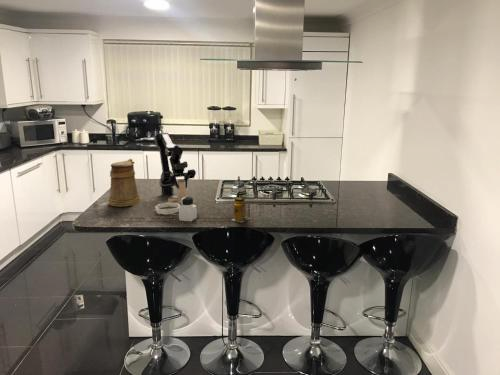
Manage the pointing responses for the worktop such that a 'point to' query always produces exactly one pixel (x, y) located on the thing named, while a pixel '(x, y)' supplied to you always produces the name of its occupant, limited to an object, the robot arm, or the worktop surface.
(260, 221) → the worktop surface
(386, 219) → the worktop surface
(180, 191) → the spice jar
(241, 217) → the condiment
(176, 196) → the parts tray
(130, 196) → the tankard
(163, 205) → the dish
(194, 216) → the medicine bottle
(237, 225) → the worktop surface
